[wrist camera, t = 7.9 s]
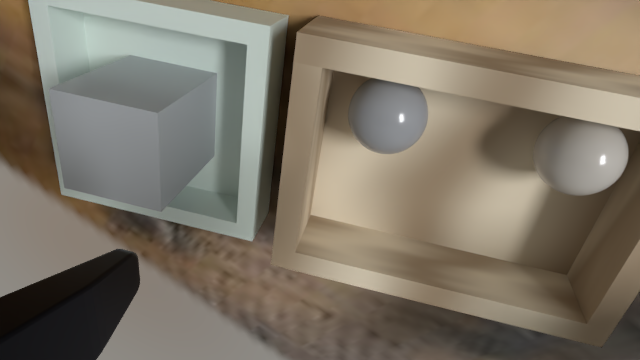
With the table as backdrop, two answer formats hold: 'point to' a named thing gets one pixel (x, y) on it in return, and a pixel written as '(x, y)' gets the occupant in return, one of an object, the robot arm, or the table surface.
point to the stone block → (135, 129)
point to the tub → (195, 52)
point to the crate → (458, 183)
